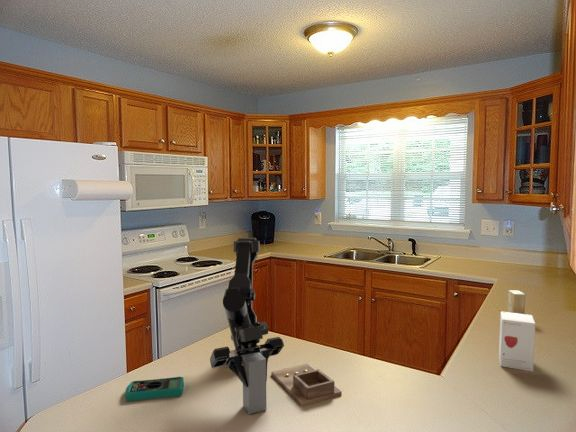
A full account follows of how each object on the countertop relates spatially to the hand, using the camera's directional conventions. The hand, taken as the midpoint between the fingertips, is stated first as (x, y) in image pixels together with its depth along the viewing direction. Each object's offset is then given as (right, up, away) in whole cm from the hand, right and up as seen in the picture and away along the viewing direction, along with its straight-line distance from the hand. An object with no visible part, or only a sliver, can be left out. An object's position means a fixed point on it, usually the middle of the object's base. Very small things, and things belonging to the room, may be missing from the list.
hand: (256, 384), depth 100 cm
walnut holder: (+12, -6, +14) cm, 19 cm away
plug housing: (-1, -6, +2) cm, 7 cm away
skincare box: (+101, -2, +65) cm, 120 cm away
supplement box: (+79, -5, +26) cm, 83 cm away
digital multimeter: (-28, -7, +10) cm, 31 cm away
